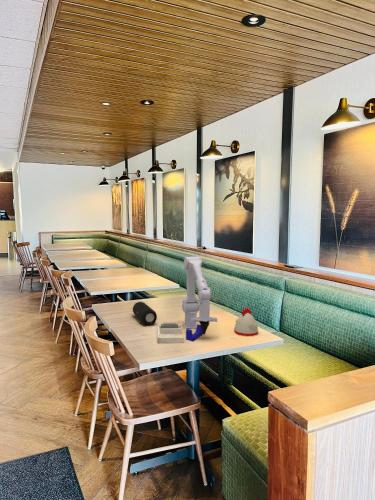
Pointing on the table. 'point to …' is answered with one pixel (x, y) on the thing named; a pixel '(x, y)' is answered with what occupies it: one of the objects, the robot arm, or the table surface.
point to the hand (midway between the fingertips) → (203, 334)
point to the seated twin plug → (169, 325)
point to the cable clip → (196, 335)
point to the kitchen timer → (246, 324)
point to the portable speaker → (144, 313)
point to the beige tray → (170, 331)
